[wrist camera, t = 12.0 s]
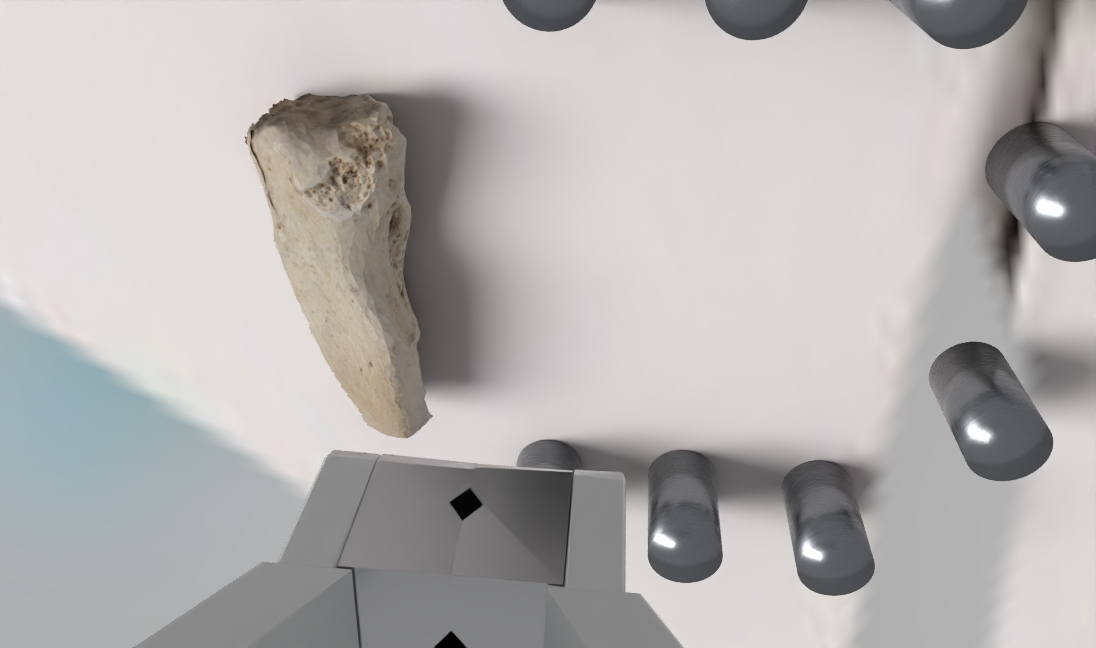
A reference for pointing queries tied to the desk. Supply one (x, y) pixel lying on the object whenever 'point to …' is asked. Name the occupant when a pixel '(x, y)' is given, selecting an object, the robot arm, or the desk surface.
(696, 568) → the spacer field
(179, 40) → the desk surface
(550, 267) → the desk surface
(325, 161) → the bone fragment
